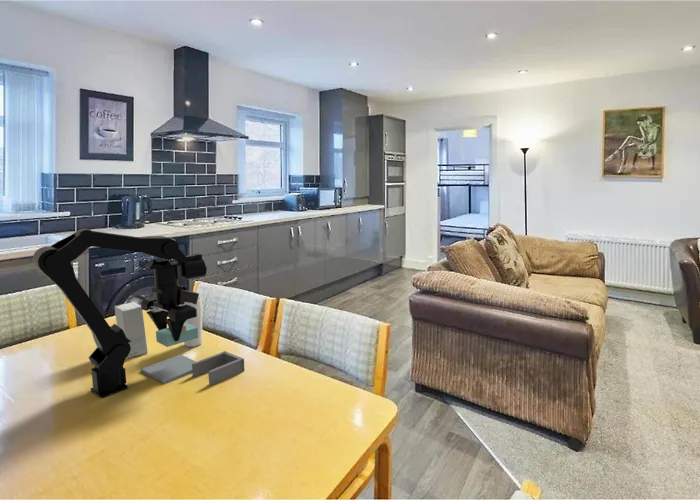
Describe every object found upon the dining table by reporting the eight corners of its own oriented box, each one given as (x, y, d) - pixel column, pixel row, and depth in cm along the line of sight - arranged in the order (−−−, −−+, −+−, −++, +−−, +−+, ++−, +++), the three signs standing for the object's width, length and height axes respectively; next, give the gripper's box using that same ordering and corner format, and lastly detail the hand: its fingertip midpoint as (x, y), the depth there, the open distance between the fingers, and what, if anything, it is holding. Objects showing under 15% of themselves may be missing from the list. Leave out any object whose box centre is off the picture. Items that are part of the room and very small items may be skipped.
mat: (163, 383, 111) (163, 381, 111) (141, 371, 118) (140, 368, 118) (204, 367, 120) (204, 365, 120) (180, 357, 127) (180, 354, 127)
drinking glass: (190, 350, 132) (187, 303, 130) (178, 345, 136) (174, 299, 134) (209, 343, 138) (206, 298, 135) (196, 338, 142) (193, 295, 139)
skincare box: (148, 353, 130) (144, 306, 127) (126, 359, 126) (122, 310, 123) (138, 345, 136) (134, 300, 133) (118, 351, 132) (113, 304, 129)
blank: (167, 347, 114) (166, 330, 113) (156, 341, 118) (155, 325, 117) (198, 337, 121) (197, 322, 120) (187, 332, 124) (186, 318, 124)
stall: (211, 385, 110) (210, 372, 109) (192, 375, 115) (191, 363, 115) (244, 370, 118) (243, 358, 118) (225, 362, 124) (224, 351, 123)
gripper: (213, 282, 116) (215, 337, 118) (175, 273, 127) (178, 323, 129) (174, 290, 107) (178, 349, 109) (138, 280, 118) (142, 333, 121)
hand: (170, 338), depth 117 cm, fingers closed on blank, 6 cm apart
